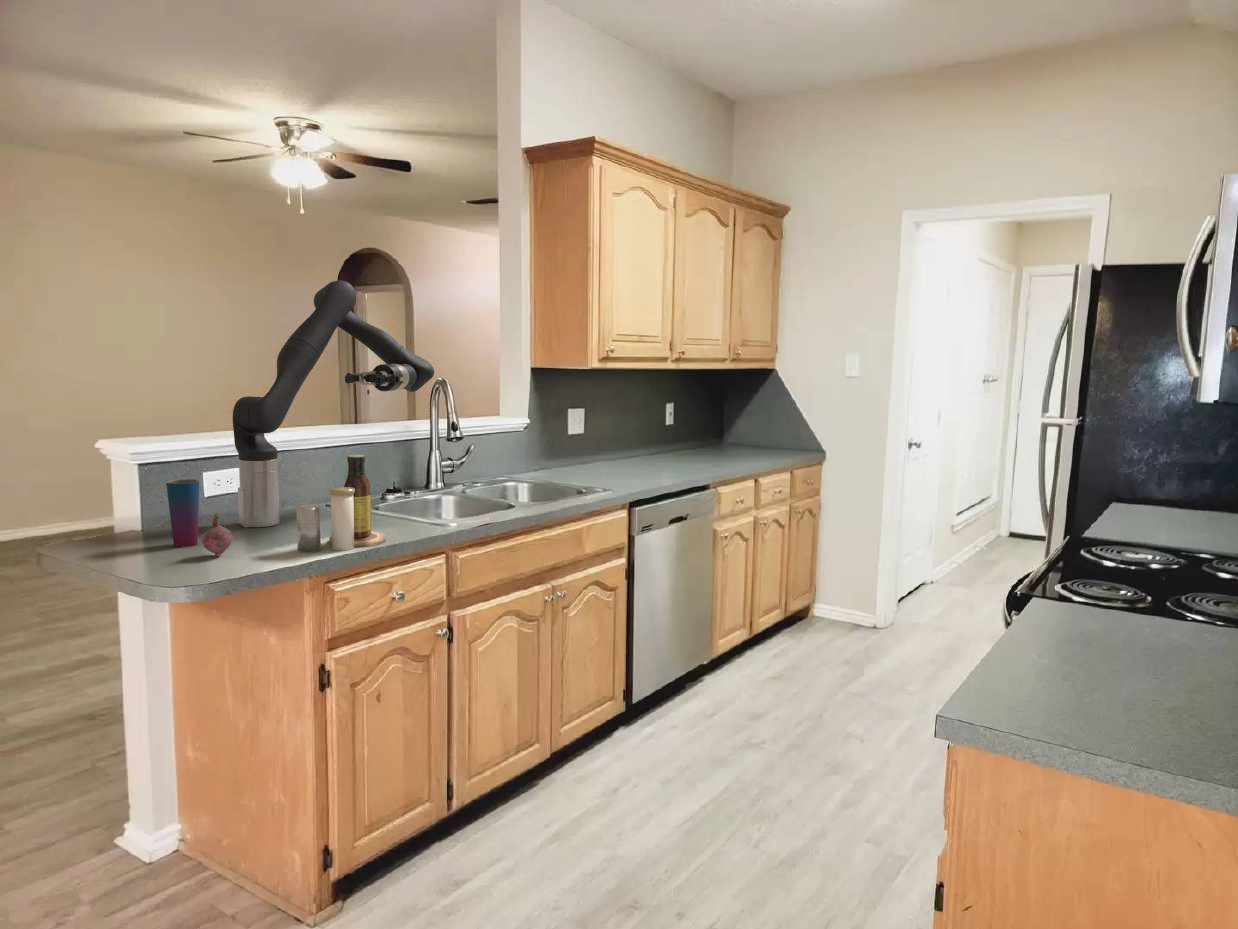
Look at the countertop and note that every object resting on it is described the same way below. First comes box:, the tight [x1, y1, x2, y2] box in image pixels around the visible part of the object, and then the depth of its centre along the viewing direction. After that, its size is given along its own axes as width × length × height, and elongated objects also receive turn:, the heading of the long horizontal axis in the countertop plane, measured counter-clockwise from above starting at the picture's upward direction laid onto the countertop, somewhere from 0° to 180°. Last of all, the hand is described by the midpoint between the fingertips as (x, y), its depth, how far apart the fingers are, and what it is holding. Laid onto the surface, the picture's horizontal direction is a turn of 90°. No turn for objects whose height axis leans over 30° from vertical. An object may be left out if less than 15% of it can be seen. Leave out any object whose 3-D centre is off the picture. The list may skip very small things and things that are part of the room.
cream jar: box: [328, 486, 355, 552], centre depth 194 cm, size 6×6×14 cm
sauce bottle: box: [343, 454, 372, 538], centre depth 201 cm, size 7×6×20 cm
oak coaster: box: [328, 531, 387, 548], centre depth 203 cm, size 13×13×1 cm
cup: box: [165, 478, 200, 548], centre depth 194 cm, size 7×7×15 cm
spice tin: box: [296, 504, 322, 553], centre depth 192 cm, size 5×5×10 cm
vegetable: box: [201, 511, 234, 556], centre depth 185 cm, size 6×6×10 cm
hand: (361, 379), depth 220 cm, fingers open, 8 cm apart
